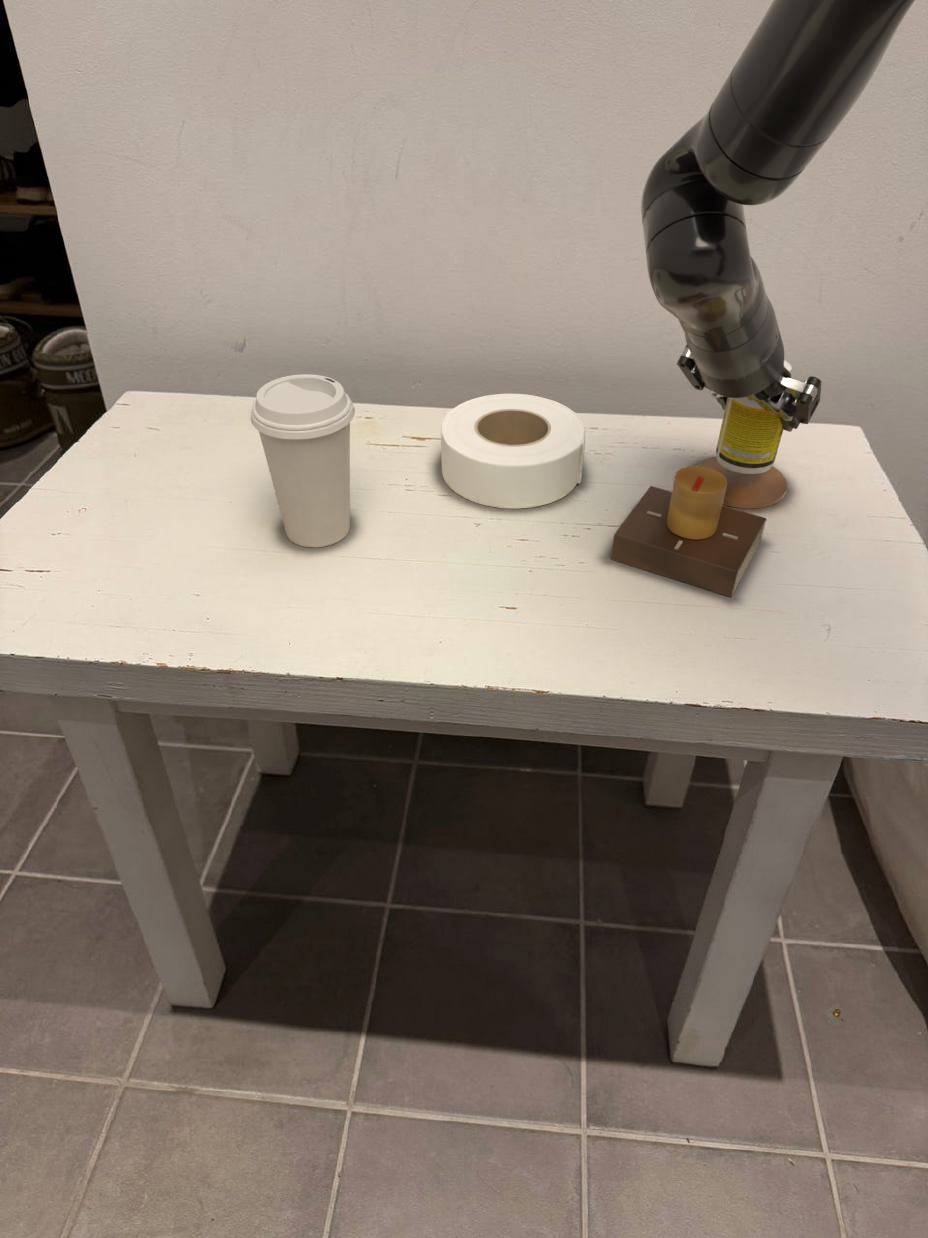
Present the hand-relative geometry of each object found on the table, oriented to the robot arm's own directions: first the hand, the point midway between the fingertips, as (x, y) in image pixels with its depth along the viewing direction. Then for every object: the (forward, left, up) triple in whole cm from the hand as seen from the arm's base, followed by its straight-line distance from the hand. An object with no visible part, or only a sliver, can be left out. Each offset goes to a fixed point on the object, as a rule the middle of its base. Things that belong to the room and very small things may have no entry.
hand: (761, 412), depth 91 cm
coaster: (0, +2, -8) cm, 8 cm away
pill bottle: (0, +2, -5) cm, 6 cm away
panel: (+1, +17, -8) cm, 18 cm away
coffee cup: (+35, +32, -8) cm, 48 cm away
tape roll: (+23, +12, -8) cm, 27 cm away
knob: (+1, +17, -5) cm, 17 cm away
